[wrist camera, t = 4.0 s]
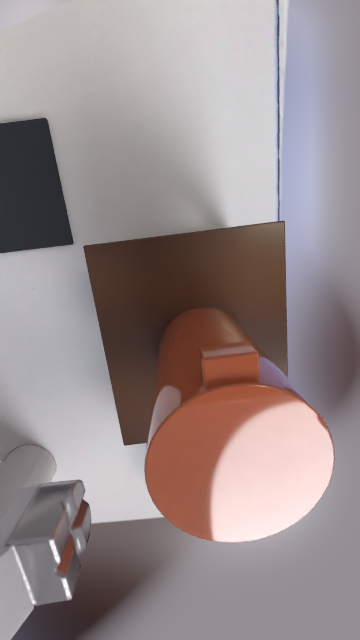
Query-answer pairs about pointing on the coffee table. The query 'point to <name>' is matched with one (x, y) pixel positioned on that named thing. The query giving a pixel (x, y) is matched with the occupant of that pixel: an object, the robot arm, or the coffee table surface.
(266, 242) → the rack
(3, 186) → the mat
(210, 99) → the coffee table surface
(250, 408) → the orange two-handled pot
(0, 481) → the bottle
